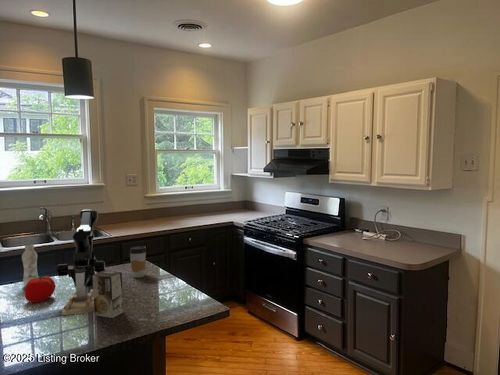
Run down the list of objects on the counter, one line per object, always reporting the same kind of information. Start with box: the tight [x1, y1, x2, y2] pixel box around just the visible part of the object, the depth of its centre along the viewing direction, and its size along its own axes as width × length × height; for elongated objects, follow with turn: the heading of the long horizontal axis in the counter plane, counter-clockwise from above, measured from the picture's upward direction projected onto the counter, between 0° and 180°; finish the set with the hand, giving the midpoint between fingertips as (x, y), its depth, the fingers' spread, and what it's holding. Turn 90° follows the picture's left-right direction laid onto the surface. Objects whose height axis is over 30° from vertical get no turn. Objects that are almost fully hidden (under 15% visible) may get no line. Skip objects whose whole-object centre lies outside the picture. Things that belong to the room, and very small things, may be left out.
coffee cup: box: [129, 245, 147, 279], centre depth 190 cm, size 8×8×15 cm
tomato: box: [24, 275, 56, 303], centre depth 157 cm, size 11×13×10 cm
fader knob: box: [74, 267, 89, 301], centre depth 153 cm, size 4×5×13 cm
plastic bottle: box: [21, 243, 39, 287], centre depth 176 cm, size 6×7×20 cm
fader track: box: [61, 289, 94, 316], centre depth 152 cm, size 19×11×3 cm, turn 18°
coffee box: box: [92, 270, 124, 319], centre depth 141 cm, size 9×6×16 cm
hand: (80, 286), depth 152 cm, fingers closed on fader knob, 3 cm apart
